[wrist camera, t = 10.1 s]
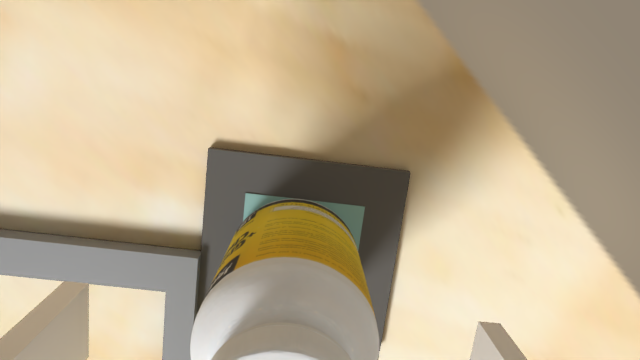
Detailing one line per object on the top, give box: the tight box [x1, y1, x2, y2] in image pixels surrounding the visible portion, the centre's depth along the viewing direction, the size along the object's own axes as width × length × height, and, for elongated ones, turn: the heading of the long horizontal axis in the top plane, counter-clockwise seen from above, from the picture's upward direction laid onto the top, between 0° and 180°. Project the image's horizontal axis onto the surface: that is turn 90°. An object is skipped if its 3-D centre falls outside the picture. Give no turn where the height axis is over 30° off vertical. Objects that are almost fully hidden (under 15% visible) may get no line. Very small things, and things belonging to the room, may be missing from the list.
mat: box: [197, 147, 410, 351], centre depth 24 cm, size 10×10×1 cm
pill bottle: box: [190, 199, 379, 360], centre depth 18 cm, size 6×6×12 cm
